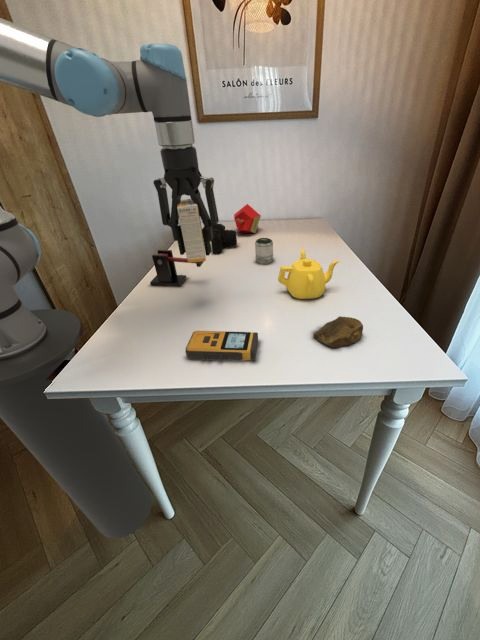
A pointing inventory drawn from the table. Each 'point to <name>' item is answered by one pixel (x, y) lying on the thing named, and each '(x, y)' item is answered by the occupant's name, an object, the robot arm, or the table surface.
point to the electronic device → (222, 345)
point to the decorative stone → (340, 332)
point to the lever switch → (181, 260)
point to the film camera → (222, 238)
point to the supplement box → (191, 230)
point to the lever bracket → (166, 271)
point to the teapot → (306, 277)
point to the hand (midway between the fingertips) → (196, 252)
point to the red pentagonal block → (247, 219)
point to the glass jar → (264, 250)
